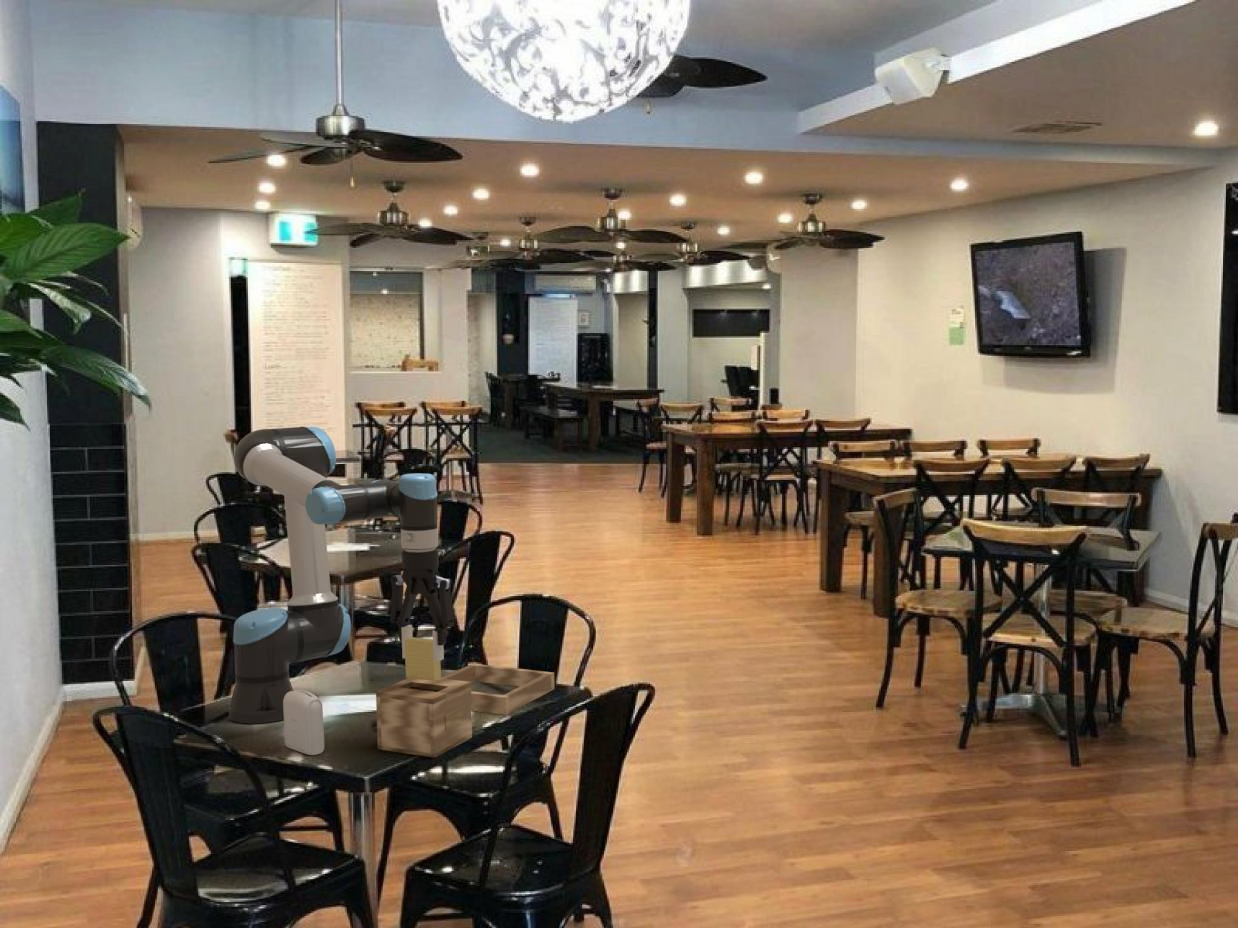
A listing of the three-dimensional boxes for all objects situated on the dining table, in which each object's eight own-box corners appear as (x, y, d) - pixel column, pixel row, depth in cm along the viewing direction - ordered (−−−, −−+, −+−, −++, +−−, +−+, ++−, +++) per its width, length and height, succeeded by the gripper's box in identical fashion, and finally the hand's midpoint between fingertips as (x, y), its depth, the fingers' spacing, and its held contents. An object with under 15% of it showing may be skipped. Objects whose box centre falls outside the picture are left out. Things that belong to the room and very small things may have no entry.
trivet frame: (420, 703, 277) (419, 686, 277) (473, 679, 298) (472, 663, 298) (505, 714, 268) (505, 697, 267) (554, 688, 288) (554, 672, 288)
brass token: (405, 677, 248) (404, 639, 247) (412, 674, 250) (411, 637, 249) (434, 680, 245) (433, 642, 244) (441, 677, 247) (439, 639, 246)
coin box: (377, 748, 245) (375, 691, 244) (417, 729, 258) (415, 675, 257) (435, 757, 239) (433, 699, 238) (473, 737, 252) (471, 681, 251)
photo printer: (282, 746, 248) (279, 688, 247) (300, 741, 251) (297, 684, 250) (309, 757, 241) (307, 697, 240) (327, 752, 244) (325, 693, 243)
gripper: (369, 549, 246) (372, 658, 248) (450, 554, 238) (453, 667, 240) (390, 543, 253) (394, 650, 255) (470, 548, 244) (473, 658, 246)
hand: (423, 658), depth 247 cm, fingers closed on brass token, 7 cm apart
